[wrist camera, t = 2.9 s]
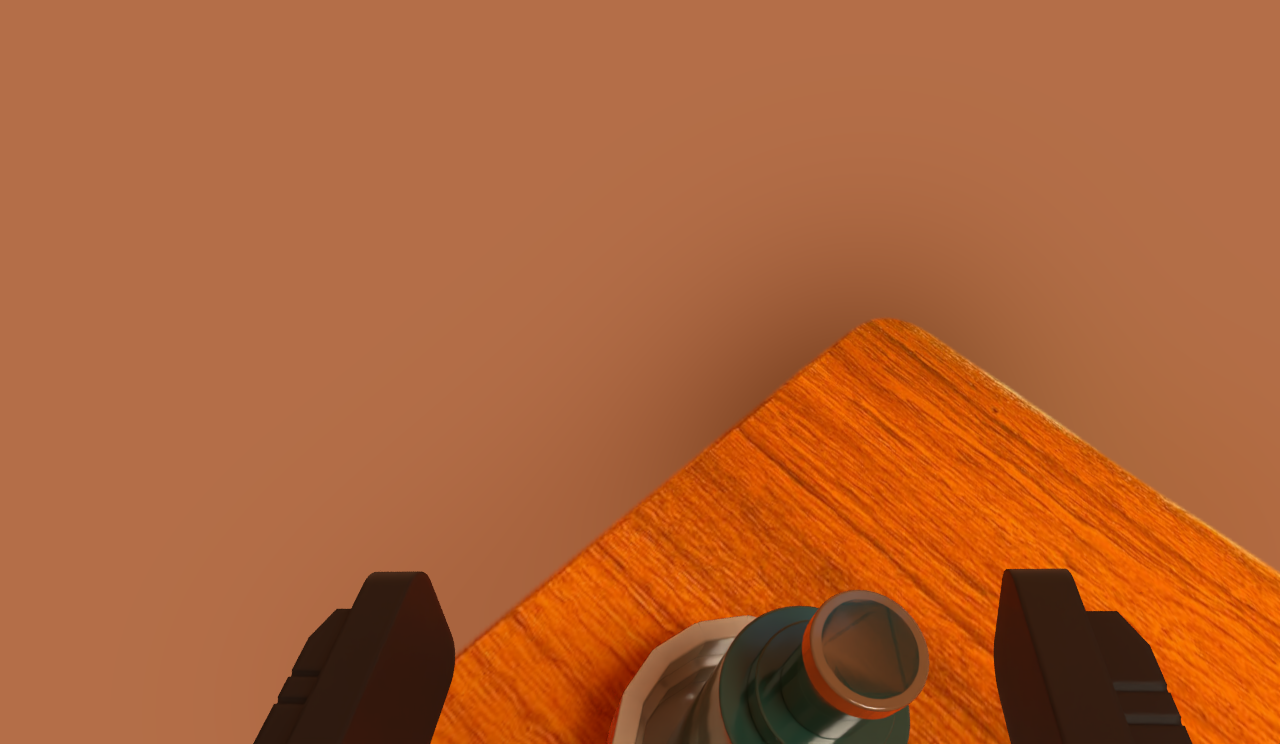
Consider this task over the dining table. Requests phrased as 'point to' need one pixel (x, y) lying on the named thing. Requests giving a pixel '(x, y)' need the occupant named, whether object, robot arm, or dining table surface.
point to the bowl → (671, 681)
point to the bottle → (814, 677)
